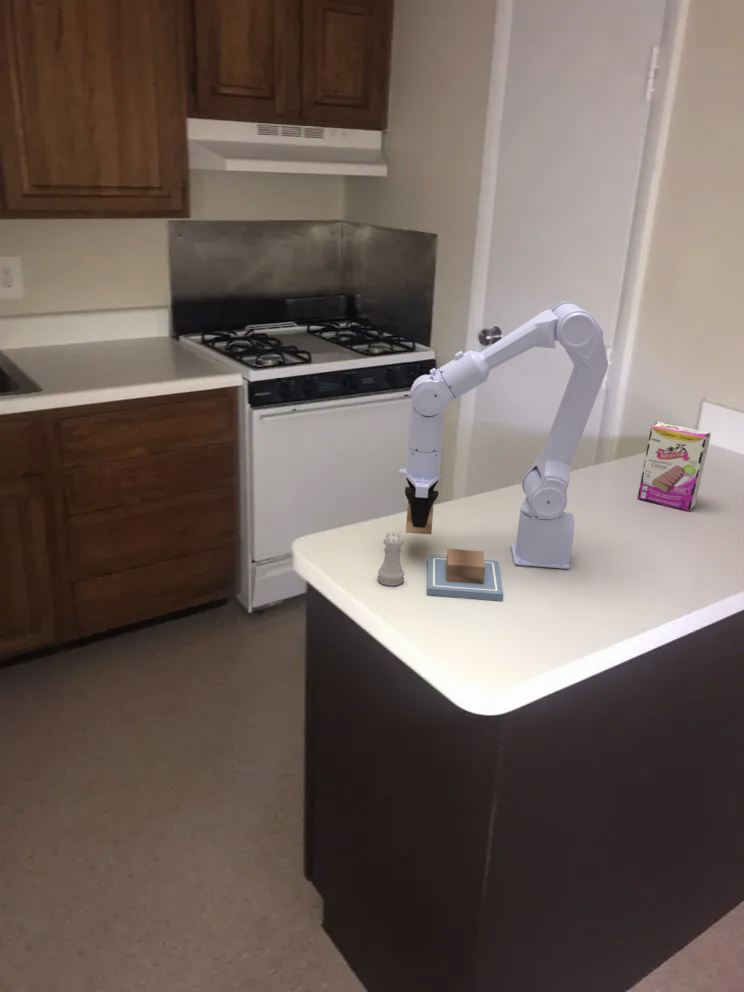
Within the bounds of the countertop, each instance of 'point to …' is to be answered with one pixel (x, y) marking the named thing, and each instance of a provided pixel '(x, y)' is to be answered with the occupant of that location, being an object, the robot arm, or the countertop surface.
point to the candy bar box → (673, 465)
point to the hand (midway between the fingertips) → (419, 520)
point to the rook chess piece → (391, 562)
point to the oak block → (416, 529)
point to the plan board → (467, 585)
